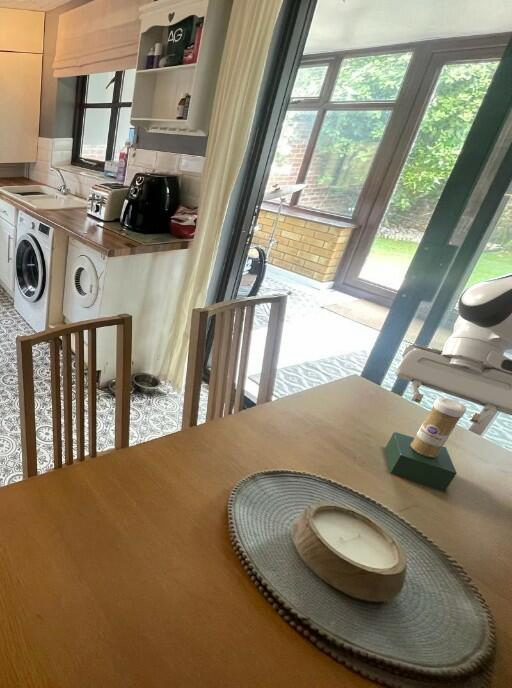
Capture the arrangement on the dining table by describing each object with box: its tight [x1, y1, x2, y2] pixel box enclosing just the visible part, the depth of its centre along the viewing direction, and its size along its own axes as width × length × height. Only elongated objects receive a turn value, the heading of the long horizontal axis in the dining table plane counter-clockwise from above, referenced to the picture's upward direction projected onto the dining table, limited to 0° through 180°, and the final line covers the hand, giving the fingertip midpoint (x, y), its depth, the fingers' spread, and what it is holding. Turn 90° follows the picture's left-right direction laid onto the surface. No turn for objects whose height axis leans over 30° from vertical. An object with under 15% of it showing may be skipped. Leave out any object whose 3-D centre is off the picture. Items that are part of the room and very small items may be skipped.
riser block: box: [384, 431, 457, 492], centre depth 93 cm, size 9×9×6 cm
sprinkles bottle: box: [411, 396, 467, 457], centre depth 89 cm, size 5×5×14 cm
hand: (444, 411), depth 91 cm, fingers open, 8 cm apart
